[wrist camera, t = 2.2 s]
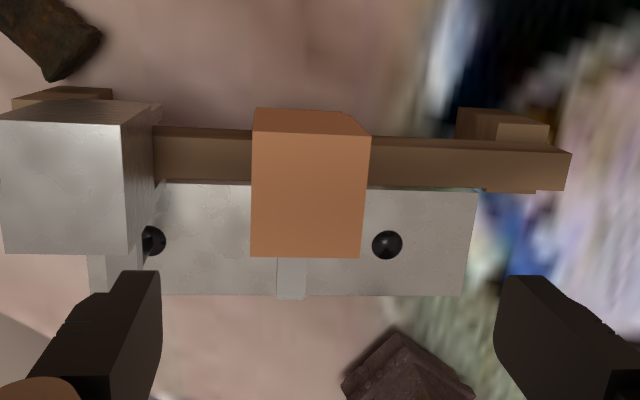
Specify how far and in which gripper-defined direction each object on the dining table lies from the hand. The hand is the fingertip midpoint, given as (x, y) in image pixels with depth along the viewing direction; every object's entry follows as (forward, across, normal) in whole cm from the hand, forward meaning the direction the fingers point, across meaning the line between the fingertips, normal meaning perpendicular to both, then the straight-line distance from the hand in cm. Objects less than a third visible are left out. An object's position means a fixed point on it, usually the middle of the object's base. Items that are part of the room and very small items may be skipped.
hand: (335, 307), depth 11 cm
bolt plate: (+22, 0, +8) cm, 23 cm away
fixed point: (+20, +9, +3) cm, 22 cm away
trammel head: (+20, 0, +3) cm, 21 cm away
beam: (+22, 0, 0) cm, 22 cm away
